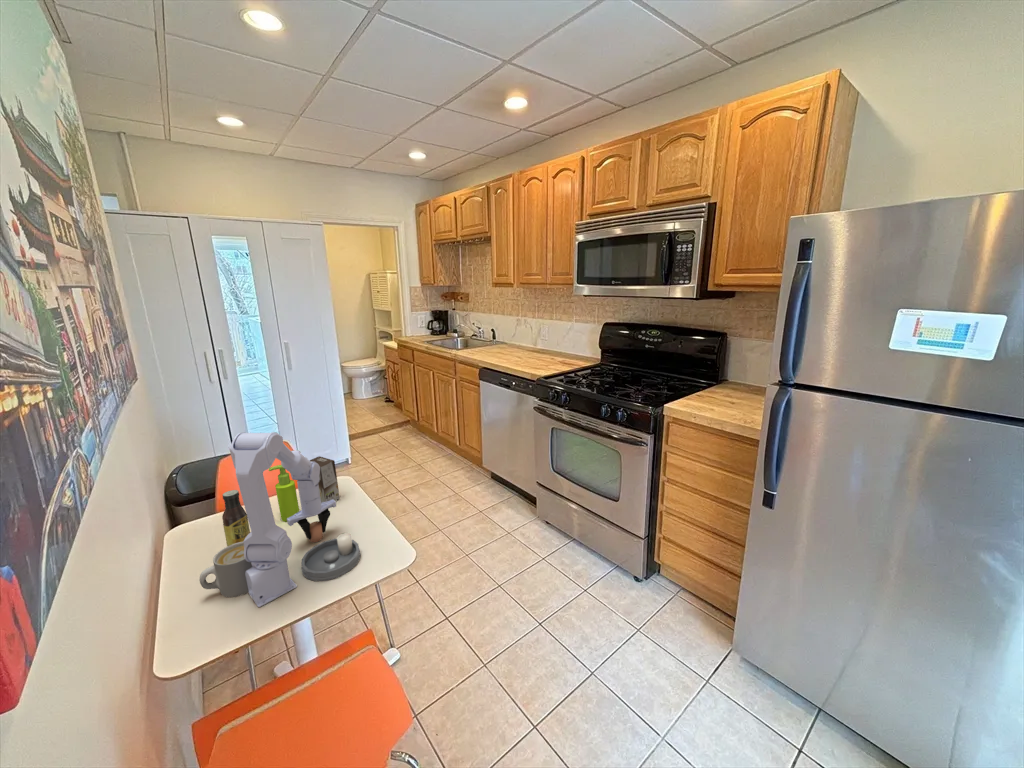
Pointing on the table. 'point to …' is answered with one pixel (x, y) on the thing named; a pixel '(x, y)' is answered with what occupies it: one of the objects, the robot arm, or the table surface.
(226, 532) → the sauce bottle
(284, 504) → the soap dispenser
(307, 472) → the robot arm
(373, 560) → the table surface
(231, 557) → the coffee mug
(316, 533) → the terracotta bead
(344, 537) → the cream bead
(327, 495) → the coffee box
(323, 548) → the groove tray
